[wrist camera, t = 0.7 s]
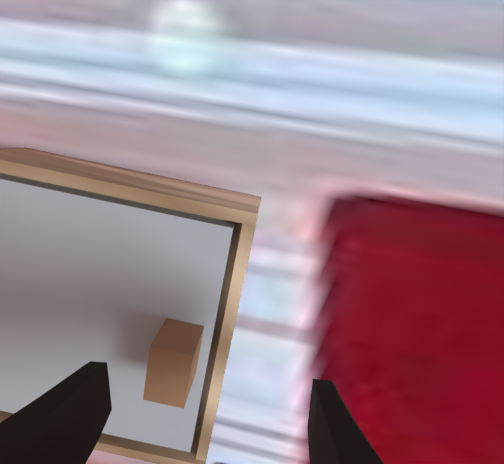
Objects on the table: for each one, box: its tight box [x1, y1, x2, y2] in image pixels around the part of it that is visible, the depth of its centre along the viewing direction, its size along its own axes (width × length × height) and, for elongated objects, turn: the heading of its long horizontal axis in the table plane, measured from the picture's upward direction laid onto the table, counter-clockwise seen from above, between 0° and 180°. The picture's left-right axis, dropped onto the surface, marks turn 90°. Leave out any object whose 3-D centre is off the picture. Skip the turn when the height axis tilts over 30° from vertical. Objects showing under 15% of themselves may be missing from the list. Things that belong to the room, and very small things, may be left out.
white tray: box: [0, 173, 235, 452], centre depth 18 cm, size 14×13×4 cm
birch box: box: [0, 148, 261, 464], centre depth 20 cm, size 16×14×4 cm
